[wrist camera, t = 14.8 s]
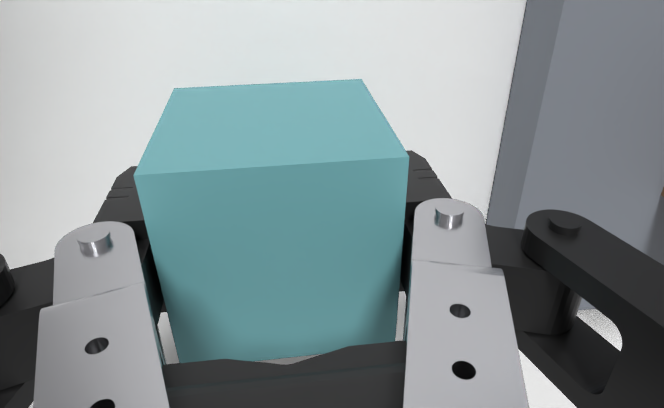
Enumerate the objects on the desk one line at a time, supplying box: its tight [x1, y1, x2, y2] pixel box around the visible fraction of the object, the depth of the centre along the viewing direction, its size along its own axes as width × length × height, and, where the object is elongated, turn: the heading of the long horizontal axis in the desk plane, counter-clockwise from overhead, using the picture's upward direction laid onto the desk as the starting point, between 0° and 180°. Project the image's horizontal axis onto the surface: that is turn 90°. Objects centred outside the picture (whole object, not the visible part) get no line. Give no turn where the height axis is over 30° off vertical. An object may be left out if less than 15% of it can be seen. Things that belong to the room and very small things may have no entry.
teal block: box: [133, 79, 409, 363], centre depth 11 cm, size 4×4×4 cm
